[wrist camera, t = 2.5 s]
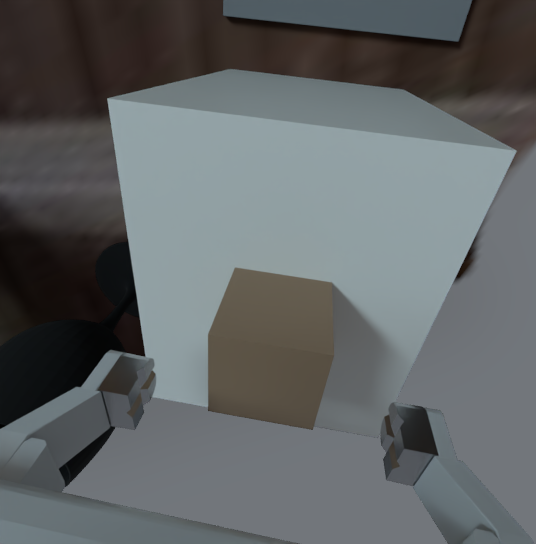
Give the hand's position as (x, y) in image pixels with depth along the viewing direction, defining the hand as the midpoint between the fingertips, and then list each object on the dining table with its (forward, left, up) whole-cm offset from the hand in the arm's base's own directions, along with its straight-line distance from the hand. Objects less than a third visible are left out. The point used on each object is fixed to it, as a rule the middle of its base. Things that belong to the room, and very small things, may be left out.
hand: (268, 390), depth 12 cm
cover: (0, 0, -22) cm, 22 cm away
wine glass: (-16, -14, -22) cm, 31 cm away
